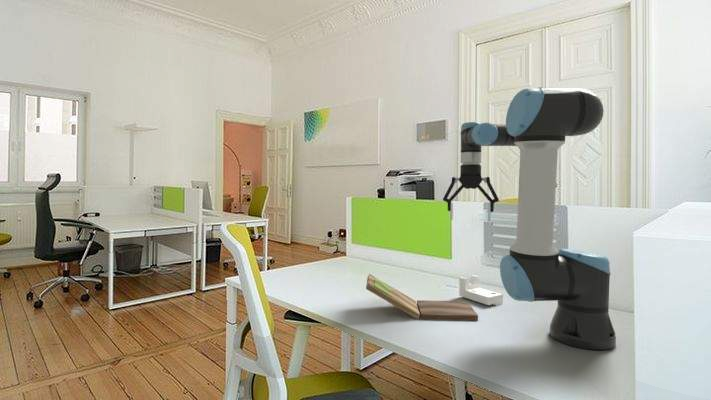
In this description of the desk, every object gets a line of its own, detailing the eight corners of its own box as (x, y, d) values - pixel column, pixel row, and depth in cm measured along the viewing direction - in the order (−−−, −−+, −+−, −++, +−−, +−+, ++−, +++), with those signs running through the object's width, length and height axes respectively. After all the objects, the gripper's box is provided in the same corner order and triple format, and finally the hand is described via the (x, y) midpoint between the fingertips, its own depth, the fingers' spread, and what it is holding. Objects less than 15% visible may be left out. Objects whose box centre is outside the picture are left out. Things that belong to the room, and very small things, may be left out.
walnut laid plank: (477, 320, 116) (478, 315, 116) (421, 319, 117) (421, 314, 117) (467, 305, 130) (467, 301, 130) (416, 304, 131) (416, 300, 131)
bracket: (459, 298, 140) (459, 277, 139) (473, 295, 143) (473, 274, 143) (488, 308, 129) (488, 285, 128) (502, 304, 132) (503, 282, 132)
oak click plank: (417, 319, 117) (420, 314, 117) (365, 288, 118) (368, 284, 118) (413, 304, 131) (415, 300, 131) (367, 277, 132) (369, 273, 132)
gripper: (505, 164, 147) (504, 220, 148) (437, 165, 154) (437, 218, 155) (506, 163, 140) (506, 222, 140) (436, 164, 147) (435, 220, 147)
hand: (470, 220), depth 148 cm, fingers open, 13 cm apart
